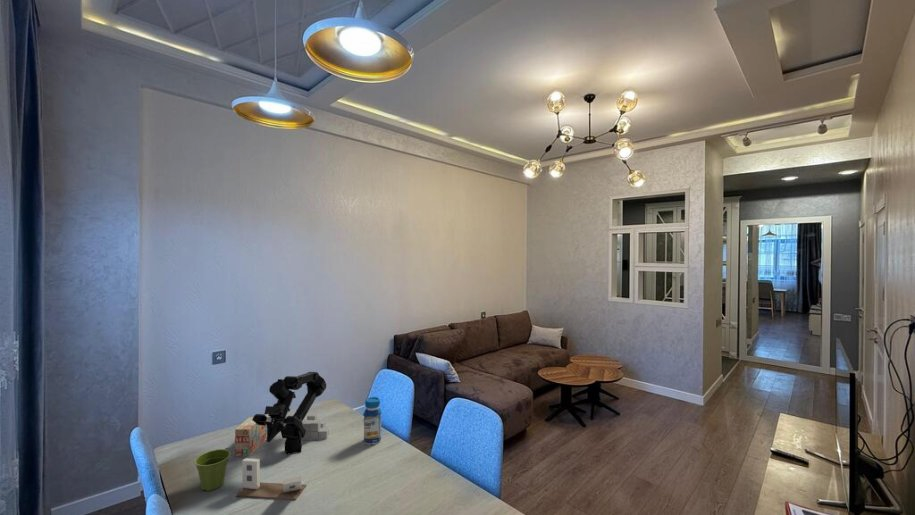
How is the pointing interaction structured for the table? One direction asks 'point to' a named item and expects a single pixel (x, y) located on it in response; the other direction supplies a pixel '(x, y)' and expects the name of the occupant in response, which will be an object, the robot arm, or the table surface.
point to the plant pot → (212, 468)
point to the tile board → (270, 492)
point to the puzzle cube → (314, 428)
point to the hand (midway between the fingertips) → (268, 442)
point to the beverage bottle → (372, 421)
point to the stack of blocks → (249, 437)
